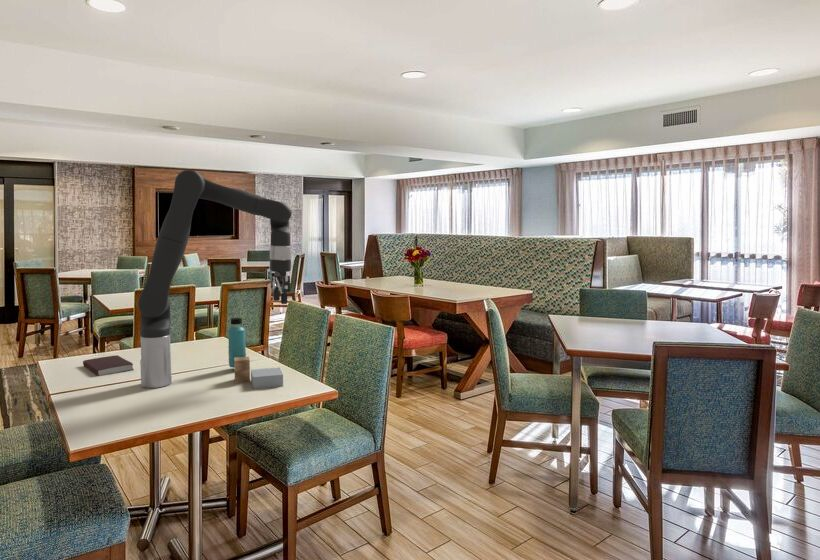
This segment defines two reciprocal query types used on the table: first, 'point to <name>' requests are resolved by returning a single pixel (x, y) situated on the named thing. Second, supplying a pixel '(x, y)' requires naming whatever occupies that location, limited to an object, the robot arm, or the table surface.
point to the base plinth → (266, 377)
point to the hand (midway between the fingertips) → (280, 302)
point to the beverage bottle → (236, 341)
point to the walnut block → (242, 369)
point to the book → (108, 365)
